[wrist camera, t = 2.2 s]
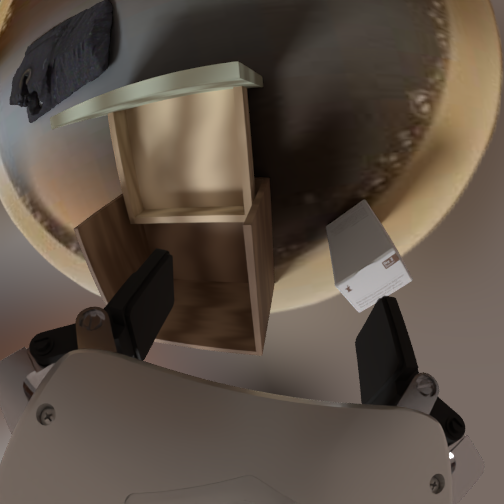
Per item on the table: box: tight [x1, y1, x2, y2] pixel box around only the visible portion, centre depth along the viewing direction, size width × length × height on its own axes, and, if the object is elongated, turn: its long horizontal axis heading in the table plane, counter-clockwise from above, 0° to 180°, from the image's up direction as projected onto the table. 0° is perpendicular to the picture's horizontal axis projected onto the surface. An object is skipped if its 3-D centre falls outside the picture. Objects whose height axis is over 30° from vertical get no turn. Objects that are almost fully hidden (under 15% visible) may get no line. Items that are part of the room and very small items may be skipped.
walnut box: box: [74, 177, 274, 355], centre depth 30 cm, size 18×15×12 cm
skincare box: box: [326, 200, 412, 312], centre depth 26 cm, size 6×4×12 cm
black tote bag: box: [10, 0, 113, 123], centre depth 22 cm, size 15×22×5 cm
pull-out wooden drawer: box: [50, 61, 263, 224], centre depth 24 cm, size 18×15×12 cm
